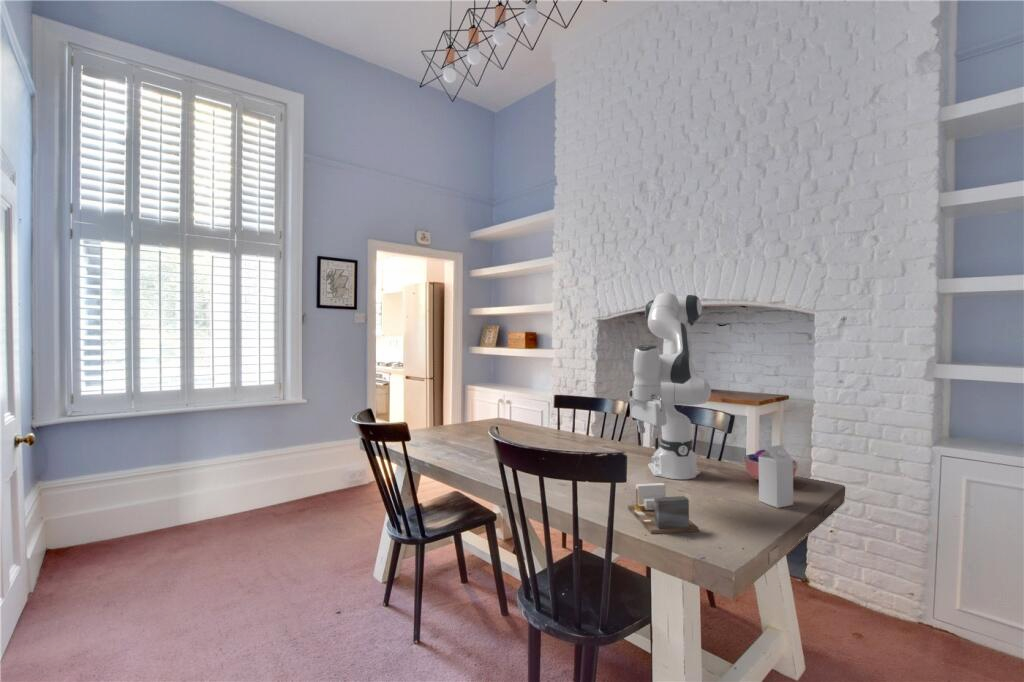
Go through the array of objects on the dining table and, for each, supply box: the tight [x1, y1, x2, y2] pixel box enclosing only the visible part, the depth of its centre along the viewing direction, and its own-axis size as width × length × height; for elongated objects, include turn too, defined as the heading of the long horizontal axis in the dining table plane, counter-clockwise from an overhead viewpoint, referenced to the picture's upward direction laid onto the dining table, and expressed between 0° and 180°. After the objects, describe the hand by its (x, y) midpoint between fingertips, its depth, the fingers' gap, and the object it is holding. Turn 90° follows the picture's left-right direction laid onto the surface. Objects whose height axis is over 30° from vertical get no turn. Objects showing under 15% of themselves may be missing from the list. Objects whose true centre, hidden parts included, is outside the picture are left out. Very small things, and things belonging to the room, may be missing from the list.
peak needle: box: [635, 488, 644, 510], centre depth 151 cm, size 1×3×6 cm, turn 95°
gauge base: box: [627, 495, 699, 534], centre depth 147 cm, size 20×14×9 cm
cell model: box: [741, 449, 799, 481], centre depth 180 cm, size 17×20×11 cm
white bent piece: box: [635, 482, 666, 510], centre depth 152 cm, size 8×9×7 cm
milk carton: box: [758, 444, 794, 509], centre depth 158 cm, size 7×7×19 cm
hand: (647, 435), depth 160 cm, fingers open, 8 cm apart
